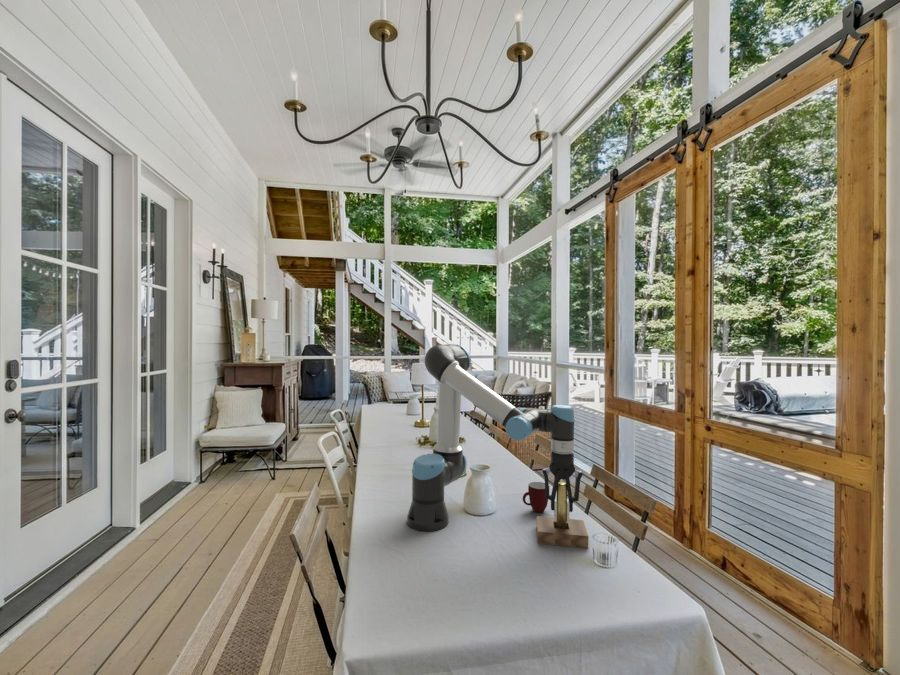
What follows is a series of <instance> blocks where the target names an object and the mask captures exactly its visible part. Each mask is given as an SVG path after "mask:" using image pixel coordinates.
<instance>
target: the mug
mask: <svg viewBox="0 0 900 675" xmlns="http://www.w3.org/2000/svg"><path fill="white" fill-rule="evenodd" d="M527 490H528V491H527V492H526V491H525V493H523V495H522V502H523V503H524V504H525V505H526V506H530V507H531V508H532V511H533V512H535V513H537V514H540V513H544V512H545V511H546V508H547V506H548V502H549V499H546V494H545V482H543V481H542V482H541V481H532V482H529V483H528V488H527ZM527 496H528V497H529V498H528V499H529V502H526V497H527Z"/></svg>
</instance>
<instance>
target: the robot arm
mask: <svg viewBox="0 0 900 675" xmlns="http://www.w3.org/2000/svg"><path fill="white" fill-rule="evenodd" d="M471 357H472V356H471V354H470V352H469V350H468V349H467V348H466V347H464V346H463V345H461V344H454V343H449V344H448V343H447V344H436V345H433V346H432V347H430V348H429V349H428V350H427V352H426V354H425V356H424V367H425V369H426V370H427V372H428V373H429V374H430V375H431V376H432V377H433V378H434V379H435V380H437V381H438V383H439V387H438V388H439V392H438V394H439V395H438V417H437V420H438V421H437V440H436V441H437V443H436V444H434V445H433V448H432V453H427V454H420V455H419V456H417V457H416V458H415V459H414V460H413V462H412V470H411V473H412V475H411V476H412V477H411V478H412V485H411V486H412V487H411V488H412V492H411V495H412V499H411V503H410V506H409V510H408V513H407V516H406V518H407V519H406V522H407V523H406V524H407V526H408V527H410V528H411V529H414V530H417V531H419V532H434V531H438V530H442V529H444V528H446V527H447V526H448V525H449V522H450V521H449V516H450V515H449V512H448V509H447V506H446V503H445V487H446V486H448V485H450V484H451V483H453V482H455V481H457V480H459V479H460V478H461V477H462V476H463V475H464V473H465V472H466V469H467V465H468V464H467V458H466V455H464V452H463V447H462V445H460V428H461V424H460V423H461V404H462V403H461V402H462V396H463V397H464V398H465V399H467V400H468V401H469V402H470V403H472V404H473V405H475V406H476V407H477V408H478V409H480V410H481V411H482V412H484V413H485V414H486V415H487V416H489V417H490V418H491V419H493V420H494V421H495V422H497V423H498V424H499V425H501V426H502V427H503V428H504V429H505V431H506V434H507V436H508V437H509V438H510V439H512V440H514V441H523V440H525V439H528V438H529V437H530V436H531V435H533V434H535V433H536V432H541V433H550V434H551V435H550V436H551V437H550V450H551V451H550V465H549V466H548V467H546V468H545V467H543V468H541V469H542V470H541V471H542V472H541V473H542V474H543V476H544V478H543V479H544V483H545V494H546V499H548V501H550V510H551V511H553V518H554V521H557V486H558V482H560V480H565V483H566V485H567V522H568V523H569V519H570V513H572V512H573V511H574V509H573V508H574V502H579V499H580V489H581V487H580V486H581V479H582V477H583V471H582V470H578V469H576V468H575V463H574V461H575V460H574V459H575V455H574V451H575V449H574V448H575V444H574V443H575V440H574V439H575V409H574V408H573V407H572V406H570V405H566V404H565V405H564V404H555V405H554V404H553V405H552V406H551V409H550V410H547V409H538V408H537V409H536V408H530V407H527V408H525V407H521V408H519V409H518V408H517V407H516V406H514V405H513V404H512V403H510V402H509V401H507V400H506V399H504V397H502V396H501V395H499V394H498V393H496V392H495V391H494V390H492V389H491V388H490V387H488V385H485V384H484V383H483V382H482V381H480V380H478V379H477V378H476V377H475V376H473V375H472V374H470V373H469V372H468V370H469V368H470V367H471V363H472V358H471ZM550 473H551V474H552V475H553V476H554V478H553V484H552V489H551V492H550V484H549V483H550V482H549V475H550ZM573 475H574V477H575V481H574V483H575V484H574V490H573V491H574V492H573V493H574V494H573V493H572V488H571V487H572V486H571V481H570V478H571V477H572V476H573ZM550 493H551V494H550Z"/></svg>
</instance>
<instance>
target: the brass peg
mask: <svg viewBox="0 0 900 675" xmlns="http://www.w3.org/2000/svg"><path fill="white" fill-rule="evenodd" d="M556 499H557V521H556V528H557V529H567V500H568V492H567V485H566V482H563V481H559V482H558V486H557V492H556Z"/></svg>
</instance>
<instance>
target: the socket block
mask: <svg viewBox="0 0 900 675" xmlns="http://www.w3.org/2000/svg"><path fill="white" fill-rule="evenodd" d="M536 539H537V545H538V544H539V545H549V546H556V547H557V546H559V547H560V546H561V547H569V548H580V549H589V534H588V531H587V528H586V525H585V521H584V520H583V519H575V518H569V523H568V522H567V529H557V528H556V521H554V516H553V517H552V516H539V515H537V516H536Z"/></svg>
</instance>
